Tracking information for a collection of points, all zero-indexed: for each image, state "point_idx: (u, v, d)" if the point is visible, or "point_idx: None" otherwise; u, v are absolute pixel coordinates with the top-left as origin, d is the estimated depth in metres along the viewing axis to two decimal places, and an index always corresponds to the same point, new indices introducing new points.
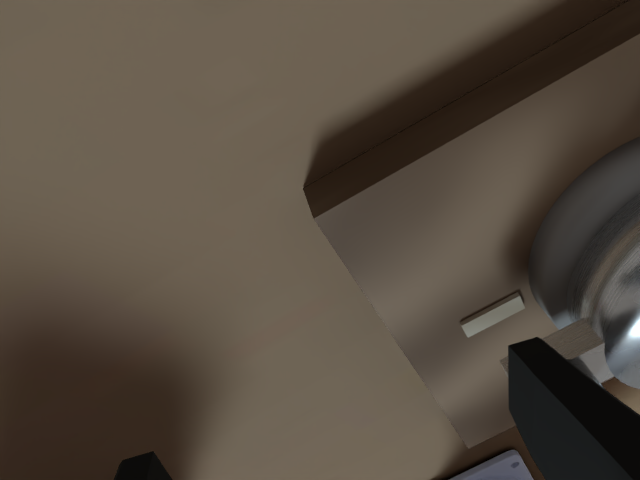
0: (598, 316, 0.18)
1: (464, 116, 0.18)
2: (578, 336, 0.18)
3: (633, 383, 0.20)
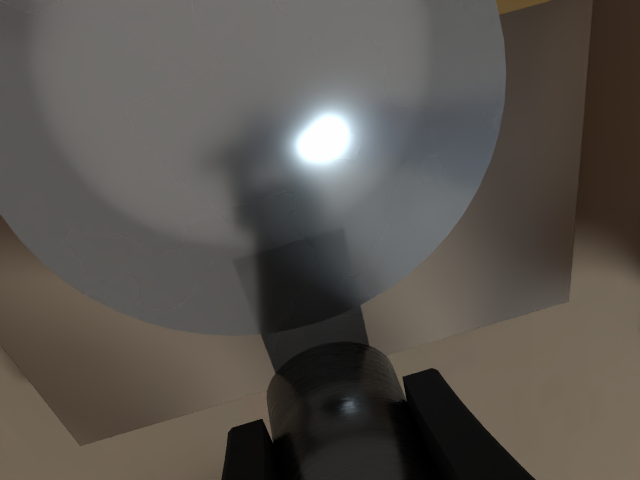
0: None
1: None
2: None
3: (403, 269, 0.11)
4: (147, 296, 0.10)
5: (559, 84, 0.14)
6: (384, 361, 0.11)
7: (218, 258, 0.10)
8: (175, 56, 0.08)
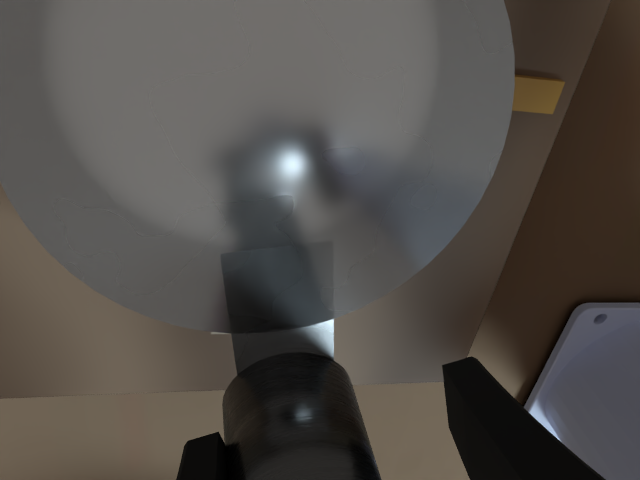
0: None
1: None
2: None
3: (381, 290, 0.11)
4: (126, 278, 0.10)
5: (512, 185, 0.15)
6: (346, 377, 0.12)
7: (206, 249, 0.10)
8: (207, 45, 0.08)
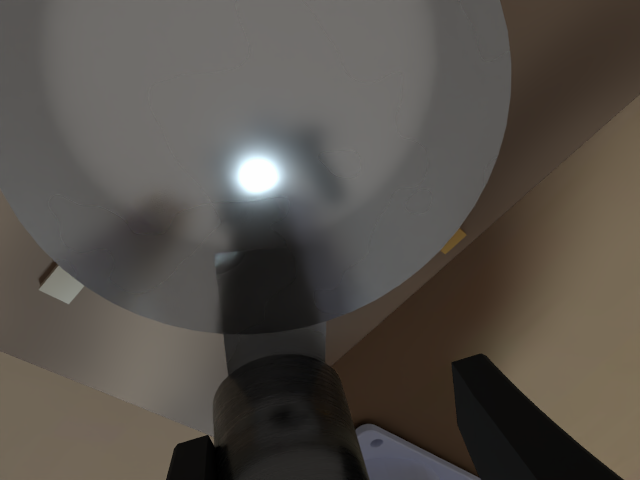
0: None
1: None
2: None
3: (374, 293, 0.11)
4: (119, 275, 0.10)
5: None
6: (337, 380, 0.12)
7: (200, 249, 0.10)
8: (207, 44, 0.08)
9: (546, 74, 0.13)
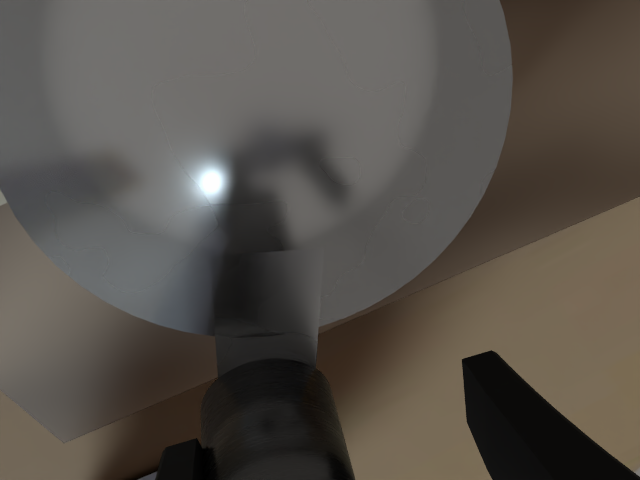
0: None
1: None
2: None
3: (367, 301, 0.11)
4: (113, 275, 0.09)
5: None
6: (327, 386, 0.12)
7: (197, 251, 0.09)
8: (214, 46, 0.08)
9: (490, 188, 0.15)
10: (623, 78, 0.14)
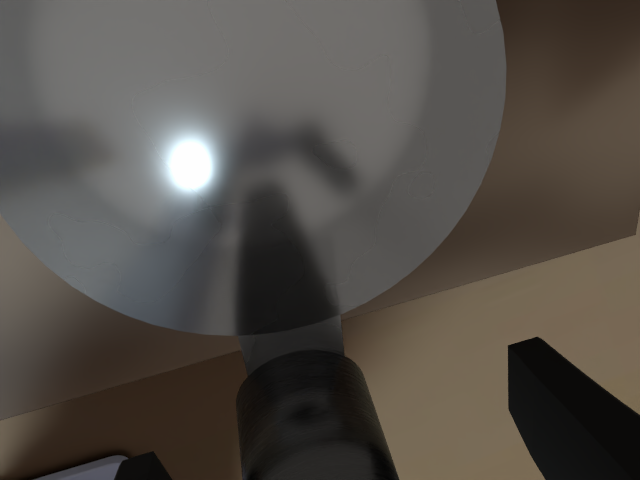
0: None
1: None
2: None
3: (386, 283, 0.11)
4: (128, 288, 0.10)
5: None
6: (357, 372, 0.11)
7: (204, 254, 0.09)
8: (185, 48, 0.08)
9: None
10: (593, 133, 0.14)
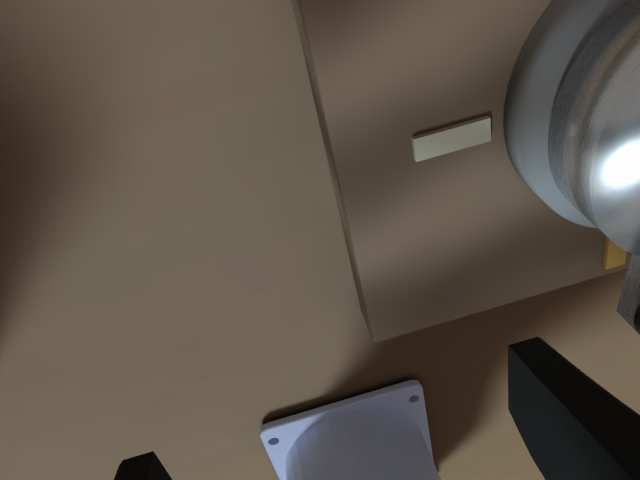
0: None
1: None
2: None
3: None
4: (625, 225, 0.16)
5: (553, 277, 0.22)
6: None
7: None
8: None
9: None
10: None
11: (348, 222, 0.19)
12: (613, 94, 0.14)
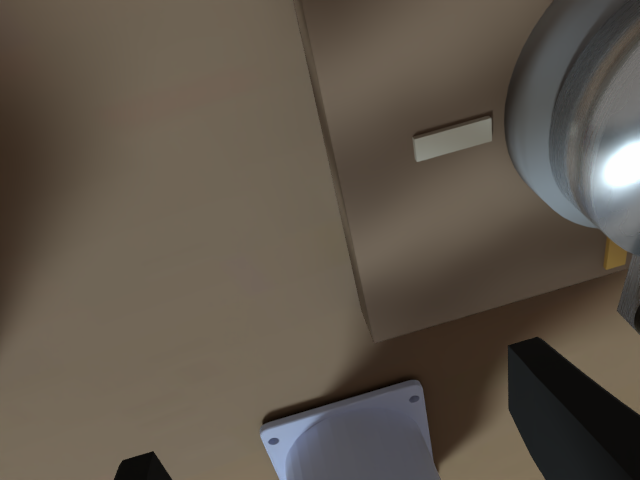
0: None
1: None
2: None
3: None
4: (626, 225, 0.16)
5: (553, 277, 0.22)
6: None
7: None
8: None
9: None
10: None
11: (349, 222, 0.19)
12: (614, 95, 0.14)
